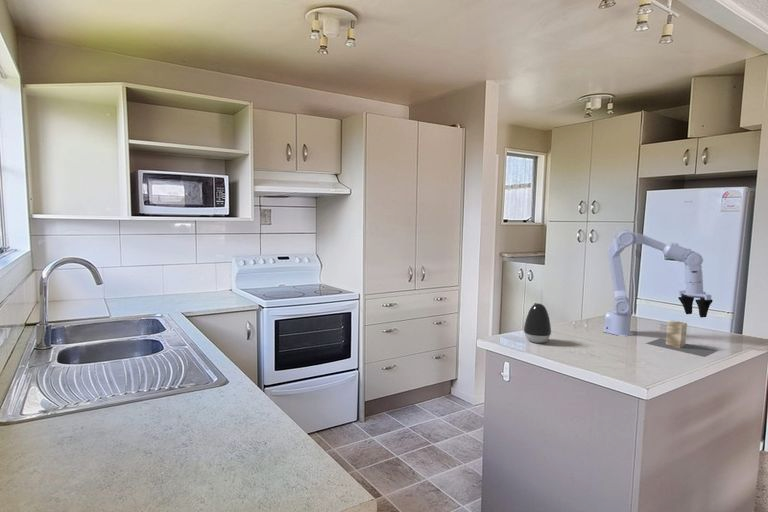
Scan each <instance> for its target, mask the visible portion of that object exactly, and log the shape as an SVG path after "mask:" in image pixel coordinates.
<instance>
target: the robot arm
mask: <svg viewBox="0 0 768 512" xmlns="http://www.w3.org/2000/svg"><path fill="white" fill-rule="evenodd" d="M632 244H634V245H641V244H642V245H645V246H647V247H651V248H654V249H656V250H659V251H661V252H662V253H663V256H665V257H667V258H669V259H671V260H674V261H677V262H679V263H683V264H684V269H685V270H684V279H685V280H684V282H685V283H684V284H685V290H678V291H679V292H678V293H679V296H678V300H679V301H680V303H681V305H682V307H683V310H684V312H685V315H692V314H693V304H694V301H695V303H696V304H697V309H698V314H699V318H707V317H708V316H707V315H708V311H709V309H710V306H711V305H712V303H713V301H714V300H713V299H712V294H710V293H707V292H706V291H704V282H703V281H704V280H703V270H702V268H703V267H702V264H703V262H704V258H703V256H702V255H701V254H700V253H698V252H696V251H694V250H692V248H689V247H688V248H686V247H683V246H681V245H679V243H677V242H674V243H672V242H670V243H664V242H662V241H660V240H656V239H654V238H652V237H650V236H647V235H645V234H642V233H638V232H632V231H629V230H621V231H619V233H617V234H616V235H615V236H614V238H613V240H612V242H611V243H610V245H609V246H608V248H607V258H608V262H609V269H610V274H611V279H612V287H613V292H614V301H613V308H614V309H613V310H612V311H607V312H606V313H605V317H604V327H603V328H604V329H603V331H602V332H603V333H606V334H611V335H616V336H620V337H621V336H622V337H629V336H631V335H634V334H635V333H634V332H631V323H632V321H631V320H632V312H631V310H632V305H631V301H630V299H629V298H628V295H627V290H626V285H625V280H624V279H625V278H624V272H623V265H622V261H621V253H622V252H623V251H624V250H625V249H626V248H628V247H630V246H631V245H632Z"/></svg>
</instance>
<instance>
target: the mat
mask: <svg viewBox="0 0 768 512" xmlns="http://www.w3.org/2000/svg"><path fill="white" fill-rule="evenodd" d="M645 344H647V345H651V346H655V347H660V348H664V349H668V350H672V351H675V352H676V351H677V352H679V353H680V352H681V353H686V354H689V355H694V356H699V357H707V356H710V355H712V354H715V353H717V352H718V351H719V349H718V350H717V349H713V348H709V347H705V346H699V345H695V344H690V343H686V342H685V346H684V347H682V348H677V347H672V346H668V345H666V338H663V337H660V338H657V339H653V340H652V341H649V342H645Z"/></svg>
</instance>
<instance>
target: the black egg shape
mask: <svg viewBox="0 0 768 512" xmlns="http://www.w3.org/2000/svg"><path fill="white" fill-rule="evenodd" d="M551 325H552V324H551V321H550V315H549V312H548V309H547V308H546V307H545V305H543V304H542V303H537V302H536V303H534V304H533V305H532V306H531V307H530V309H529V310H528V313H527V315H526V318H525V322H524V326H523V332H524V335H525V337H526V339H527V340H528V341H530V342H531V343H534V344H543V343H546V342H547V341H548V340H549V338H550V337H551V335H552V327H551Z"/></svg>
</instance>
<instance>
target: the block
mask: <svg viewBox="0 0 768 512" xmlns="http://www.w3.org/2000/svg"><path fill="white" fill-rule="evenodd" d="M687 328H688V323H687V322H682V321H681V322H680V321H677V320H671V321H668V322H667V323H666V335H665V337H666V338H665V339H666V345H668V346H672V347H677V348H682V347H684V346H685V343H686V340H687Z"/></svg>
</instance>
